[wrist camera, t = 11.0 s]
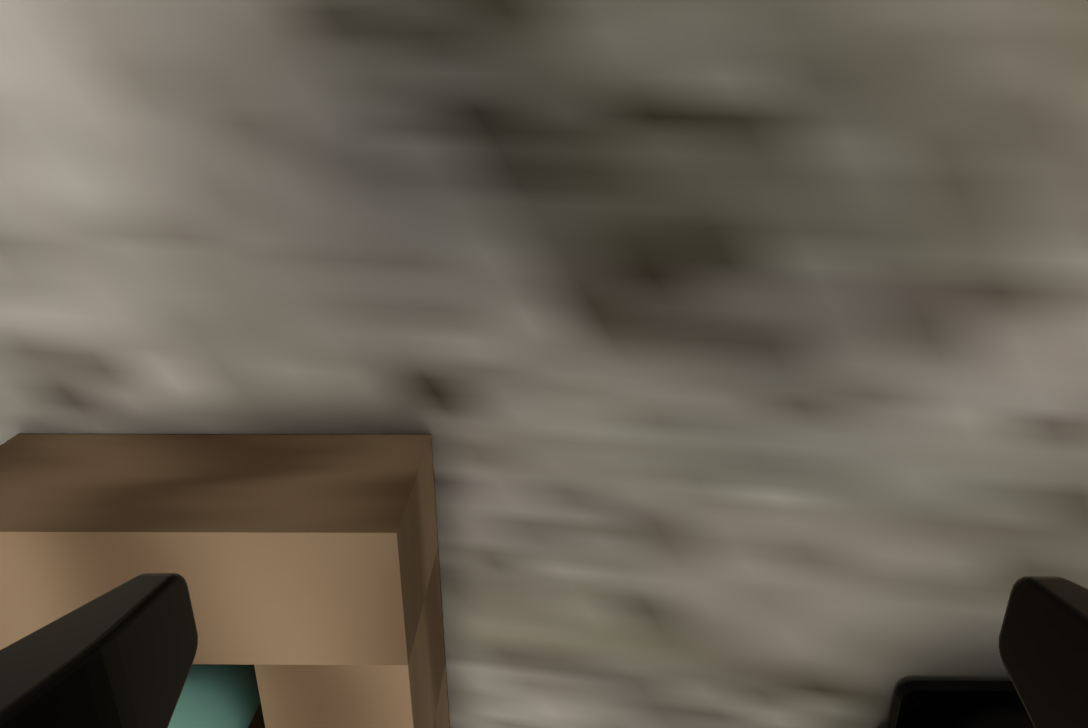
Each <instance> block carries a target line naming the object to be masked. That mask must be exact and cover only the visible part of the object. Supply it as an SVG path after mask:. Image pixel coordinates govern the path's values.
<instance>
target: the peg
mask: <svg viewBox="0 0 1088 728" xmlns="http://www.w3.org/2000/svg"><path fill="white" fill-rule="evenodd" d="M260 702H261V701H260V695H259V690H258V684H257V678H256V673H255V667H254V665H238V664H192V666H191V669H190V672H189V674H188V677H187V679H186V682H185V684H184V687H183V690H182V692H181V695H180V697H179V700H178V702H177V705H176V708H175V710H174V713H173V715H172V718H171V721H170V723H169V726H168V728H248V727H249V725H250V723H251V721H252V719H253V717H254V715H255V712H256V710H257V708H258V706H259V704H260Z"/></svg>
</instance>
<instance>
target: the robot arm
mask: <svg viewBox="0 0 1088 728" xmlns="http://www.w3.org/2000/svg"><path fill="white" fill-rule="evenodd" d="M197 645H198V633H197V628H196V623H195V618H194V613H193V608H192V604H191V599H190V594H189V589H188V585H187V582H186V580H185V579H184V577H183V576H181V575H179V574H177V573H144V574H140V575H138V576H136V577H134V578H132V579H131V580H129V581H127V582H125V583H123V584H121V585H120V586H118V587H116V588H114V589H112V590H110V591H108V592H107V593H105V594H103V595H101V596H99V597H97V598H96V599H94V600H92V601H90V602H88V603H86V604H84V605H83V606H81V607H79V608H77V609H75V610H73V611H71V612H70V613H68V614H66V615H64V616H62V617H60V618H59V619H57V620H55V621H53V622H51V623H49V624H47V625H46V626H44V627H42V628H40V629H38V630H36V631H35V632H33V633H31V634H29V635H27V636H25V637H23V638H22V639H20V640H18V641H16V642H14V643H12V644H10V645H9V646H7V647H5V648H3V649H1V650H0V728H168V726H169V723H170V721H171V718H172V715H173V713H174V710H175V708H176V705H177V702H178V700H179V697H180V695H181V692H182V690H183V687H184V684H185V682H186V679H187V677H188V674H189V672H190V669H191V666H192V664H193V661H194V658H195V655H196V651H197ZM999 650H1000V655H1001V658H1002V661H1003V664H1004V666H1005V668H1006V670H1007V672H1008V674H1009V676H1010V678H1011V680H1012V682H1011V681H910V682H906V683H904V684H902V685H901V686H900V687H899V688H898V689H897V691H896V694H895V699H894V704H893V708H892V713H891V718H890V723H889V727H888V728H1088V589H1086V588H1084V587H1082V586H1080V585H1077V584H1075V583H1073V582H1071V581H1069V580H1067V579H1064V578H1061V577H1053V576H1026V577H1022V578H1020V579H1018V580H1017V581H1016V582H1015V584H1014V585H1013V587H1012V590H1011V594H1010V598H1009V601H1008V605H1007V609H1006V613H1005V616H1004V620H1003V624H1002V628H1001V631H1000V635H999ZM913 697H915V698H913ZM912 698H913V699H912Z"/></svg>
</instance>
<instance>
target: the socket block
mask: <svg viewBox="0 0 1088 728" xmlns="http://www.w3.org/2000/svg"><path fill="white" fill-rule="evenodd" d="M144 573H177V574H179V575H181V576H183V577H184V579H185V580H186V582H187V585H188V589H189V594H190V599H191V604H192V608H193V613H194V618H195V623H196V628H197V633H198V645H197V651H196V655H195V658H194V661H193V664H238V665H254V667H255V673H256V678H257V684H258V690H259V695H260V701H261V702H260V704H259V706H258V708H257V710H256V712H255V715H254V717H253V719H252V721H251V723H250V725H249V727H248V728H450V724H449V708H448V692H447V677H446V661H445V645H444V630H443V614H442V598H441V583H440V567H439V551H438V536H437V520H436V504H435V489H434V473H433V457H432V442H431V435H255V434H18V435H16V436H15V437H13V438H11V439H10V440H8V441H7V442H5V443H4V444H2V445H1V446H0V650H1V649H3V648H5V647H7V646H9V645H10V644H12V643H14V642H16V641H18V640H20V639H22V638H23V637H25V636H27V635H29V634H31V633H33V632H35V631H36V630H38V629H40V628H42V627H44V626H46V625H47V624H49V623H51V622H53V621H55V620H57V619H59V618H60V617H62V616H64V615H66V614H68V613H70V612H71V611H73V610H75V609H77V608H79V607H81V606H83V605H84V604H86V603H88V602H90V601H92V600H94V599H96V598H97V597H99V596H101V595H103V594H105V593H107V592H108V591H110V590H112V589H114V588H116V587H118V586H120V585H121V584H123V583H125V582H127V581H129V580H131V579H132V578H134V577H136V576H138V575H140V574H144Z"/></svg>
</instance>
